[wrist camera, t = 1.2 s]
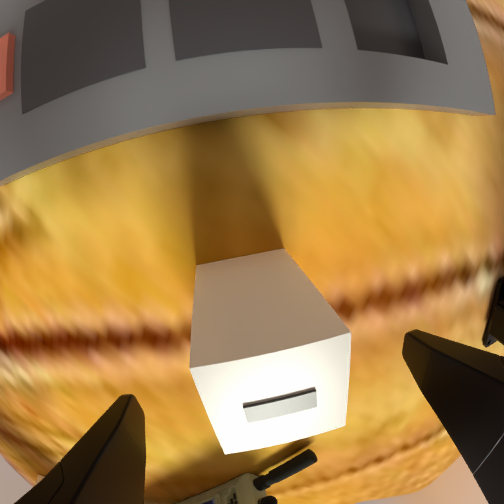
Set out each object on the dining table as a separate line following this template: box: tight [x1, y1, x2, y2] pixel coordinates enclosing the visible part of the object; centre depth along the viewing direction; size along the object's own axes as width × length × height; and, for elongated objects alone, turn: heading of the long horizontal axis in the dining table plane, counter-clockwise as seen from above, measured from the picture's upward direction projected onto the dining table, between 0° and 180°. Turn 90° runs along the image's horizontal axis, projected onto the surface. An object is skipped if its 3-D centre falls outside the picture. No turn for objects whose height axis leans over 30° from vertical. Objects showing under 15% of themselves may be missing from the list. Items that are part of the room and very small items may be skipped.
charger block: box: [190, 248, 351, 454], centre depth 11 cm, size 4×4×7 cm
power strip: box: [0, 0, 495, 186], centre depth 8 cm, size 33×10×3 cm, turn 99°
